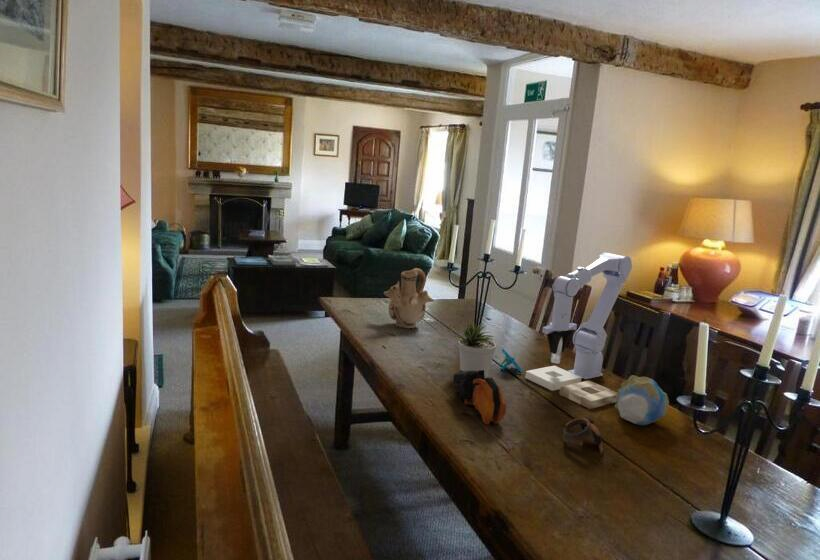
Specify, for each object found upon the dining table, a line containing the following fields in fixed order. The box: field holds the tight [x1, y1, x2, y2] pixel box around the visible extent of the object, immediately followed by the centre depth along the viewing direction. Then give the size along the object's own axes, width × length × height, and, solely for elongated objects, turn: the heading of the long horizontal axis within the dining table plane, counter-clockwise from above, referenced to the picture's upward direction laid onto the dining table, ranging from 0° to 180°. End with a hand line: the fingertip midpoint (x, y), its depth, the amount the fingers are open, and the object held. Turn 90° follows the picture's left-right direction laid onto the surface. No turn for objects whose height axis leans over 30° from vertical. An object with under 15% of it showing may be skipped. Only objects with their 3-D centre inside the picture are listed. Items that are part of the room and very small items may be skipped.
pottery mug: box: [562, 416, 604, 454], centre depth 144 cm, size 12×10×8 cm
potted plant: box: [454, 319, 497, 379], centre depth 186 cm, size 13×14×20 cm
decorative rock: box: [614, 375, 670, 426], centre depth 162 cm, size 14×16×15 cm
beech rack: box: [559, 380, 618, 410], centre depth 176 cm, size 14×12×2 cm
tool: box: [453, 370, 507, 426], centre depth 160 cm, size 8×23×15 cm, turn 19°
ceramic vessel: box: [383, 267, 435, 329], centre depth 238 cm, size 18×19×25 cm
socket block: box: [524, 365, 583, 392], centre depth 188 cm, size 14×12×2 cm
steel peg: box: [550, 336, 563, 364], centre depth 186 cm, size 3×3×9 cm
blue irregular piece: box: [499, 348, 523, 372], centre depth 196 cm, size 11×6×10 cm
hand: (556, 352), depth 187 cm, fingers closed on steel peg, 3 cm apart
